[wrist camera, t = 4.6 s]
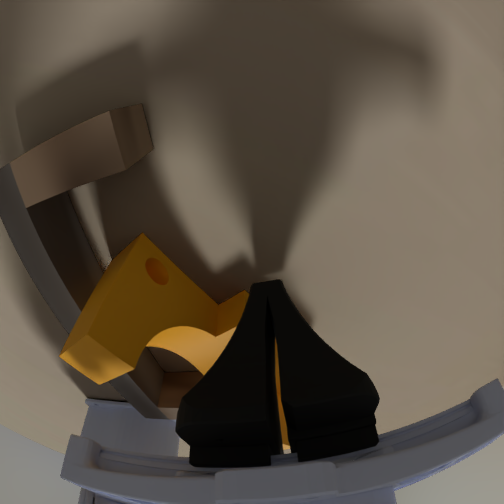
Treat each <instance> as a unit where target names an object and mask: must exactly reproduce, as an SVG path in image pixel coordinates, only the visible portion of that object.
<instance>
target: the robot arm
mask: <svg viewBox="0 0 504 504" xmlns="http://www.w3.org/2000/svg"><path fill="white" fill-rule="evenodd" d="M275 338H276V343H277V351H278V363H279V376H280V392H281V402H282V407H283V411H284V416H285V420H286V425H287V435H288V442H289V445H290V449H291V453H289V454H284V452H283V443H282V434H281V425H280V416H279V407H278V398H277V388H276V376H275ZM379 399H380V398H379V395H378V392H377V390H376V388H375V386H374V384H373V382H372V381H371V379H370V378H369V376H368V375H367V373H365V372H363V371H362V370H360V369H359V368H357V367H356V366H354V365H353V364H351V363H350V362H348V361H347V360H346V359H344V358H343V357H342V356H340V355H339V354H338V353H337V352H336V351H335V350H333V349H332V348H331V347H330V346H329V345H328V344H326V343H325V342H324V341H323V340H322V339H321V338H320V337H319V336H318V335H317V333H316V332H315V331H314V330H313V329H312V328H311V327H310V326H309V324H308V323H307V322H306V321H305V319H304V318H303V317H302V316H301V314H300V313H299V311H298V310H297V308H296V307H295V305H294V304H293V302H292V301H291V299H290V297H289V296H288V294H287V292H286V290H285V288H284V285H283V282H282V281H281V280H280V279H278V280H272V281H266V282H259V283H253V284H252V285H251V290H250V294H249V297H248V300H247V303H246V306H245V309H244V311H243V314H242V316H241V319H240V321H239V323H238V325H237V327H236V329H235V331H234V333H233V335H232V337H231V339H230V340H229V342H228V344H227V345H226V347H225V349H224V350H223V352H222V353H221V354H220V356H219V357H218V359H217V360H216V362H215V363H214V364H213V365H212V367H211V368H210V369H209V370H208V371H207V373H206V374H205V375H204V376H203V377H202V378H201V379H200V381H199V382H198V383H197V384H196V385H195V386H194V387H192V388H191V389H190V390H189V391H188V392H187V393H186V394H185V395H184V396H183V397H182V399H181V402H180V405H179V409H178V412H177V418H176V420H168V419H149V418H145V417H144V416H142V415H141V414H140V413H139V412H138V411H137V410H136V409H135V408H134V407H133V406H132V405H131V404H130V403H127V402H115V401H105V400H96V399H88V398H87V399H86V400H85V403H86V404H87V405H88V406H89V408H88V412H87V415H86V418H85V422H84V425H83V429H82V432H81V436H77V435H73V434H72V435H71V436H70V439H69V443H68V447H67V450H66V454H65V458H64V462H63V467H62V471H61V475H60V476H61V478H62V479H64V480H67V481H69V482H71V483H73V484H75V485H78V486H80V487H82V488H81V491H80V497H79V502H78V504H397V503H396V499H395V493H394V491H395V490H398V489H401V488H403V487H406V486H408V485H411V484H414V483H416V482H418V481H421V480H423V479H425V478H428V477H430V476H432V475H434V474H436V473H438V472H440V471H442V470H445V469H446V468H449V467H451V466H452V465H454V464H456V463H458V462H460V461H461V460H464V459H465V458H467V457H469V456H471V455H472V454H474V453H476V452H478V451H479V450H481V449H482V448H484V447H486V446H487V445H489V444H491V443H492V442H493V441H495V440H496V439H497V438H498V437H500V436H501V435H502V434H504V390H503V388H502V386H501V384H500V382H499V380H498V379H495V380H493V381H491V382H490V383H488V384H486V385H484V386H482V387H481V388H479V389H478V390H477V391H475V392H474V393H473V395H472V396H471V397H470V399H469V400H467V401H465V402H463V403H461V404H459V405H456V406H454V407H452V408H450V409H448V410H446V411H443V412H441V413H439V414H436V415H434V416H431V417H429V418H426V419H424V420H421V421H419V422H416V423H413V424H411V425H408V426H405V427H402V428H399V429H396V430H393V431H390V432H387V433H383V434H380V435H378V434H377V430H376V426H375V424H376V418H375V415H374V413H375V410H376V408H377V406H378V404H379ZM179 438H181V439H183V440H184V441H185V442H186V443H187V444H188V445H190V455H189V457H178V448H179ZM353 460H354V461H353Z"/></svg>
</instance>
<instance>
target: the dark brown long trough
mask: <svg viewBox="0 0 504 504" xmlns="http://www.w3.org/2000/svg"><path fill="white" fill-rule="evenodd" d="M153 149H154V148H153V145H152V141H151V137H150V134H149V130H148V126H147V122H146V118H145V114H144V110H143V106H142V104H138V105H133V106H128V107H123V108H119V109H114V110H110V111H107V112H105V113H102V114H100V115H98V116H95V117H93V118H91V119H88V120H86V121H84V122H82V123H80V124H78V125H76V126H74V127H71V128H69V129H67V130H65V131H63V132H62V133H60V134H58V135H56V136H54V137H52V138H50V139H48V140H46V141H45V142H43V143H41V144H39V145H38V146H36V147H34V148H32V149H31V150H29V151H27V152H26V153H24V154H23V155H21V156H19V157H18V158H16V159H15V160H13V161H12V162H10V163H8V164H7V165H5V166H4V167H3V168H1V169H0V217H1V219H2V221H3V224H4V226H5V228H6V230H7V232H8V234H9V237H10V239H11V241H12V243H13V245H14V247H15V249H16V251H17V253H18V255H19V257H20V258H21V260H22V262H23V264H24V266H25V268H26V269H27V271H28V273H29V275H30V276H31V278H32V280H33V281H34V283H35V285H36V286H37V288H38V290H39V291H40V293H41V295H42V296H43V298H44V299H45V301H46V302H47V304H48V305H49V307H50V308H51V310H52V311H53V313H54V314H55V316H56V317H57V319H58V320H59V321H60V323H61V324H62V326H63V327H64V328H65V330H66V331H67V332H68V334H69V335H70V333H71V331H72V329H73V327H74V325H75V323H76V321H77V319H78V317H79V316H80V314H81V312H82V310H83V308H84V306H85V305H86V303H87V301H88V299H89V298H90V296H91V294H92V292H93V291H94V289H95V287H96V286H97V284H98V282H99V281H100V279H101V277H102V276H103V272H102V270H101V268H100V266H99V264H98V262H97V260H96V258H95V256H94V254H93V252H92V250H91V247H90V245H89V243H88V241H87V239H86V237H85V234H84V232H83V230H82V228H81V225H80V223H79V221H78V218H77V216H76V214H75V211H74V209H73V206H72V204H71V201H70V199H69V196H68V194H67V191H68V190H70V189H73V188H76V187H78V186H81V185H84V184H87V183H89V182H92V181H95V180H98V179H101V178H104V177H107V176H110V175H113V174H116V173H119V172H122V171H125V170H127V169H128V168H130V167H131V166H132V165H133V164H135V163H136V162H137V161H139V160H140V159H141V158H143V157H144V156H145V155H147V154H148V153H149V152H151V151H152V150H153ZM203 376H204V375H203V374H202V373H201V372H200V371H192V372H167V373H164V371H163V370H162V369H161V367H160V366H159V364H158V363H157V361H156V360H155V359H154V357H153V356H152V354H151V353H150V351H149V350H148V348H147V347H146V346H145V348H144V349H143V351H142V353H141V355H140V357H139V359H138V361H137V364H136V367H135V369H134V370H131V371H129V372H127V373H125V374H123V375H121V376H118V377H116V378H114V379H112V380H109V381H108V382H109V383H110V384H111V385H112V386H113V387H114V388H115V389H116V390H117V391H118V392H119V393H120V394H121V395H122V396H123V397H124V398H125V399H126V400H127V401H128V402H129V403H130V404H131V405H132V406H133V407H134V408H135V409H136V410H137V411H138V412H139V413H140V414H141V415H142V416H144V417H145V418H149V419H168V420H176V418H177V412H178V409H179V405H180V402H181V399H182V397H183V396H184V395H185V394H186V393H187V392H188V391H189V390H190V389H191V388H192V387H194V386H195V385H196V384H197V383H198V382H199V381H200V379H201V378H202V377H203Z"/></svg>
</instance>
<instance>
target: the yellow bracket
mask: <svg viewBox="0 0 504 504" xmlns="http://www.w3.org/2000/svg"><path fill="white" fill-rule="evenodd" d="M248 297H249V293H248V292H247V291H246V290H244V291H242V292H240V293H238V294H237V295H235V296H233V297H232V298H230V299H228V300H226V301H225V302H223V303H221V304H219V305H218V304H217V303H216V302H215V301H214V300H213V299H211V298H210V297H209V296H208V295H207V294H206V293H205V292H204V291H203V290H202V289H200V288H199V287H198V286H197V285H196V284H195V283H194V282H193V281H192V280H191V279H190V278H189V277H188V276H187V275H185V274H184V273H183V272H182V271H181V270H180V269H179V268H178V267H177V266H176V265H175V264H174V263H173V262H172V261H171V260H170V259H169V258H168V257H167V256H166V255H165V254H164V253H163V252H162V251H161V250H160V249H158V248H157V247H156V246H155V245H154V244H153V243H152V242H151V241H150V240H149V239H148V238H147V237H146V236H145V235H144V234H143V233H141V234H140V235H139V236H138V237H137V238H136V239H135V240H133V241H132V242H131V243H130V244H129V245H128V246H127V247H126V248H125V249H124V250H122V251H121V252H120V253H119V254H118V255H117V256H116V257H115V258H114V259H113V260H112V261H111V263H110V264H109V266H108V267H107V269H106V271H105V272H104V274H103V276H102V277H101V279H100V281H99V282H98V284H97V286H96V287H95V289H94V291H93V292H92V294H91V296H90V298H89V299H88V301H87V303H86V305H85V306H84V308H83V310H82V312H81V314H80V316H79V317H78V319H77V321H76V323H75V325H74V327H73V329H72V331H71V333H70V335H69V337H68V339H67V341H66V343H65V345H64V347H63V349H62V351H61V353H60V355H59V357H60V358H62V359H63V360H64V361H66V362H67V363H68V364H70V365H71V366H72V367H74V368H75V369H77V370H78V371H79V372H81V373H82V374H84V375H85V376H87V377H88V378H90V379H91V380H93V381H94V382H96V383H97V384H99V385H100V384H103V383H105V382H107V381H109V380H112V379H114V378H116V377H118V376H121V375H123V374H125V373H127V372H129V371H131V370H134V369H135V367H136V364H137V361H138V359H139V357H140V355H141V353H142V351H143V349H144V348H145V346H153V347H160V348H164V349H167V350H170V351H172V352H174V353H176V354H178V355H180V356H182V357H183V358H185V359H186V360H188V361H189V362H190V363H191V364H193V365H194V366H195V367H196V368H197V369H198V370H199V371H200V372H201V373H202V374H203V375H205V374H206V373H207V371H208V370H209V369H210V368H211V367H212V365H213V364H214V363H215V362H216V360H217V359H218V357H219V356H220V354H221V353H222V352H223V350H224V349H225V347H226V345H227V344H228V342H229V340H230V339H231V337H232V335H233V333H234V331H235V329H236V327H237V325H238V323H239V321H240V319H241V316H242V314H243V311H244V309H245V306H246V303H247V300H248ZM275 376H276V388H277V398H278V407H279V416H280V425H281V434H282V443H283V450H285V449H289V448H290V445H289V442H288V435H287V425H286V420H285V416H284V411H283V407H282V402H281V392H280V376H279V363H278V351H277V343H276V338H275Z"/></svg>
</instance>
